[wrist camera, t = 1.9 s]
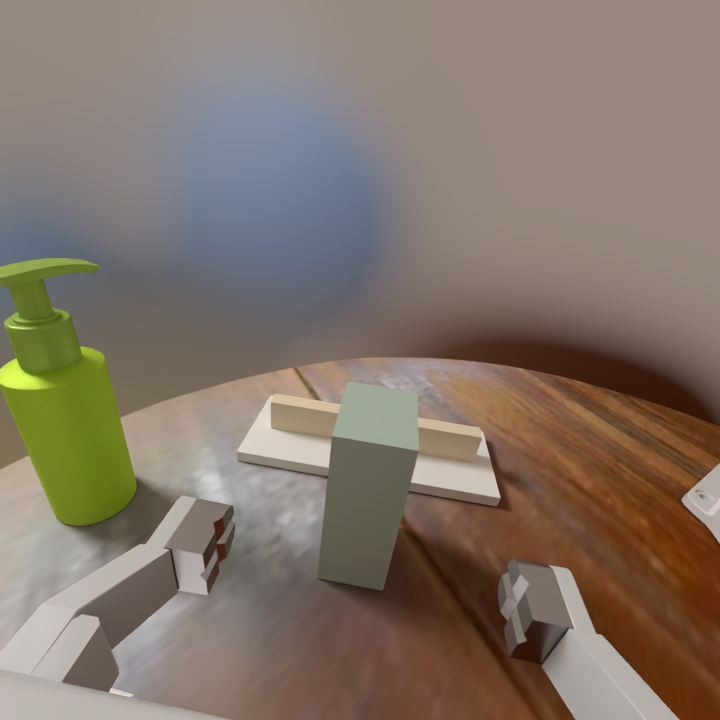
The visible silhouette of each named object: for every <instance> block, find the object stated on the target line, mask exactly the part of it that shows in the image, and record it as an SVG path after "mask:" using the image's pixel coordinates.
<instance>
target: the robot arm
mask: <svg viewBox="0 0 720 720" xmlns="http://www.w3.org/2000/svg"><path fill="white" fill-rule="evenodd" d="M682 502H683V504H684V505H685V506H686V507H687V508H688V509H689V510H690V511H691V512H692V513H693V514H694V515H695V516H696V517H697V518H699V519H700V520H701V521H702V522H703V523H704V524H705V525H706V526H707V527H708V528H709V529H710V531H711V532H712V533H713V535H714V536H715V537H716V539H717V540H718V542H719V543H720V463H719V464H718V465H717V466H716V467H715V468H714V469H713V470H712V471H711V472H710V473H708V474H707V475H706V476H705V477H704V478H703V479H702V480H701V481H700V482H699V483H697V484H696V485H695V486H694V487H693V488H692V489H691V490H690V491H689V492H688V493H687V494H685V495H684V496H683V497H682ZM233 515H234V509H233V506H231V505H227V504H222V503H217V502H212V501H208V500H203V499H199V498H194V497H188V496H181V497H180V498H179V499H178V500H177V501H176V502H175V504H174V505H173V506H172V508H171V509H170V511H169V512H168V513H167V515H166V516H165V518H164V519H163V521H162V522H161V523H160V525H159V526H158V528H157V529H156V530H155V532H154V533H153V535H152V536H151V537H150V539H149V540H148V542H147V543H146V545H145V544H139V545H138V546H136V547H134V548H133V549H131V550H129V551H128V552H126V553H124V554H123V555H121V556H119V557H118V558H116V559H114V560H113V561H111V562H109V563H108V564H106V565H105V566H103V567H101V568H100V569H98V570H96V571H95V572H93V573H91V574H90V575H88V576H86V577H85V578H83V579H81V580H80V581H78V582H76V583H75V584H73V585H71V586H70V587H68V588H67V589H65V590H63V591H62V592H60V593H58V594H57V595H55V596H53V597H52V598H50V599H48V600H47V601H45V602H43V603H42V604H41V605H40V606H39V607H38V609H37V610H36V611H35V612H34V613H33V614H32V616H31V617H30V618H29V619H28V620H27V621H26V623H25V624H24V625H23V626H22V627H21V629H20V630H19V631H18V632H17V633H16V634H15V636H14V637H13V638H12V639H11V640H10V641H9V643H8V644H7V645H6V646H5V647H4V648H3V650H2V651H1V652H0V720H232V719H227V718H222V717H218V716H213V715H209V714H204V713H200V712H195V711H191V710H186V709H181V708H177V707H172V706H168V705H163V704H159V703H154V702H150V701H145V700H140V699H136V698H131V697H127V696H122V695H118V694H113V693H109V691H110V689H111V687H112V685H113V684H114V682H115V680H116V678H117V677H118V675H119V668H118V665H117V662H116V660H115V657H114V655H113V653H112V649H113V648H114V647H115V646H116V645H118V644H119V643H120V642H121V641H122V640H123V639H125V638H126V637H127V636H128V635H129V634H130V633H132V632H133V631H134V630H135V629H136V628H137V627H139V626H140V625H141V624H142V623H143V622H144V621H145V620H147V619H148V618H149V617H150V616H151V615H152V614H154V613H155V612H156V611H157V610H158V609H159V608H161V607H162V606H163V605H164V604H165V603H166V602H168V601H169V600H170V599H171V598H172V597H173V596H174V595H176V594H177V593H178V591H184V592H190V593H196V594H202V595H207V596H208V594H209V592H210V590H211V588H212V586H213V584H214V582H215V580H216V578H217V576H218V573H219V565H218V563H219V562H220V561H222V560H223V559H224V558H226V557H227V554H228V552H229V550H230V548H231V545H232V541H233V538H234V532H235V524H234V522H233V521H232V520H231V519H232V517H233ZM507 568H508V573H506V574H504V575H502V577H501V579H500V581H499V586H498V602H499V608H500V612H501V613H502V614H503V616H504V617H505V618H506V620H507V623H506V625H505V627H504V633H505V637H506V642H507V647H508V652H509V657H512V658H516V659H521V660H525V661H529V662H534V663H538V664H542V668H543V669H544V671H545V672H546V674H547V676H548V677H549V679H550V680H551V682H552V683H553V685H554V687H555V688H556V690H557V691H558V693H559V694H560V696H561V697H562V699H563V701H564V702H565V704H566V705H567V707H568V708H569V710H570V712H571V713H572V715H573V716H574V718H575V719H576V720H679V719H678V718H677V717H676V716H675V715H674V714H673V712H672V711H671V710H670V709H669V708H668V707H667V706H666V705H665V704H664V703H663V701H662V700H661V699H660V698H659V697H658V696H657V695H656V694H655V693H654V692H653V690H652V689H651V688H650V687H649V686H648V685H647V684H646V683H645V682H644V681H643V679H642V678H641V677H640V676H639V675H638V674H637V673H636V672H635V671H634V670H633V668H632V667H631V666H630V665H629V664H628V663H627V662H626V661H625V660H624V659H623V658H622V656H621V655H620V654H619V653H618V652H617V651H616V650H615V649H614V648H613V647H612V645H611V644H610V643H609V642H608V641H607V640H606V639H605V638H604V637H603V636H602V635H600V634H596V632H595V629H594V627H593V624H592V622H591V619H590V617H589V615H588V612H587V610H586V607H585V605H584V602H583V600H582V597H581V595H580V592H579V590H578V587H577V585H576V582H575V580H574V578H573V575H572V573H571V572H570V571H569V569H567V568H562V567H556V566H550V565H547V564H543V563H537V562H531V561H525V560H520V559H514V558H513V559H511V560H510V561H509V563H508V565H507Z"/></svg>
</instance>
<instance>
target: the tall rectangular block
mask: <svg viewBox="0 0 720 720" xmlns="http://www.w3.org/2000/svg"><path fill="white" fill-rule="evenodd" d="M418 453H419V435H418V399H417V393H416V392H410V391H404V390H398V389H392V388H386V387H380V386H374V385H367V384H361V383H355V382H349V381H348V382H347V386H346V389H345V393H344V396H343V400H342V403H341V407H340V410H339V413H338V417H337V420H336V424H335V427H334V431H333V434H332V441H331V451H330V461H329V471H328V481H327V490H326V500H325V510H324V520H323V530H322V540H321V549H320V559H319V569H318V578H319V579H324V580H329V581H334V582H339V583H345V584H350V585H355V586H360V587H365V588H370V589H376V590H381V591H383V589H384V585H385V581H386V577H387V573H388V570H389V566H390V562H391V558H392V554H393V550H394V546H395V542H396V538H397V534H398V531H399V527H400V523H401V519H402V515H403V511H404V507H405V503H406V499H407V495H408V492H409V488H410V484H411V480H412V476H413V472H414V468H415V464H416V460H417V457H418Z"/></svg>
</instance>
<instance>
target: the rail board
mask: <svg viewBox="0 0 720 720" xmlns="http://www.w3.org/2000/svg"><path fill="white" fill-rule="evenodd" d="M340 407H341V404H335V403H329V402H323V401H317V400H311V399H305V398H299V397H293V396H287V395H281V394H275V395H274V396H270V397H269V399H268V401H267V402H266V404H265V406H264V407H263V409H262V411H261V412H260V414H259V416H258V417H257V419H256V421H255V422H254V424H253V426H252V427H251V429H250V431H249V432H248V434H247V436H246V437H245V439H244V441H243V442H242V444H241V446H240V447H239V449H238V451H237V460H238V461H243V462H249V463H255V464H260V465H266V466H272V467H277V468H283V469H288V470H294V471H300V472H305V473H311V474H316V475H322V476H328V471H329V461H330V451H331V441H332V434H333V431H334V427H335V424H336V420H337V417H338V413H339V410H340ZM418 435H419V453H418V457H417V460H416V464H415V468H414V472H413V476H412V480H411V484H410V488H409V491H412V492H418V493H423V494H429V495H434V496H440V497H446V498H451V499H457V500H462V501H468V502H474V503H479V504H485V505H490V506H496V507H497V505H498V503H499V501H500V494H499V490H498V486H497V483H496V479H495V475H494V471H493V468H492V464H491V460H490V456H489V453H488V449H487V445H486V441H485V438H484V434H483V431H480V428H478V427H472V426H466V425H460V424H454V423H448V422H442V421H436V420H430V419H424V418H418Z"/></svg>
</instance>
